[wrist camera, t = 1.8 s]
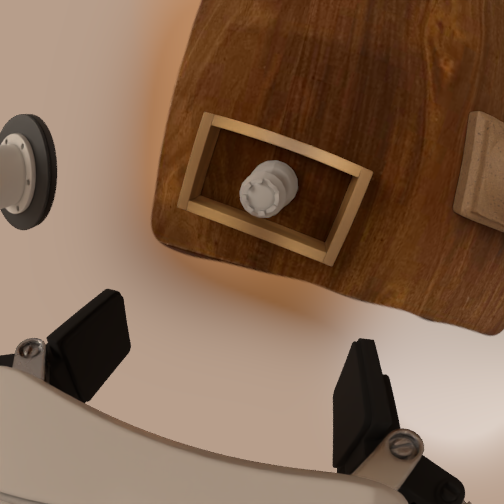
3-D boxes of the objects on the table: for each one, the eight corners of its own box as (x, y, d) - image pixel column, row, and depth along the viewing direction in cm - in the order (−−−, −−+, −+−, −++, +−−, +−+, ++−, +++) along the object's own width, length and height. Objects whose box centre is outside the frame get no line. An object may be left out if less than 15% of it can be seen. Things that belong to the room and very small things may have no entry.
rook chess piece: (253, 156, 26) (231, 160, 19) (301, 163, 25) (298, 169, 18) (248, 203, 28) (224, 224, 20) (294, 210, 27) (288, 234, 20)
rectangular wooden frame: (188, 201, 29) (176, 207, 26) (214, 115, 25) (203, 111, 22) (330, 255, 28) (332, 267, 25) (366, 169, 24) (373, 172, 22)
